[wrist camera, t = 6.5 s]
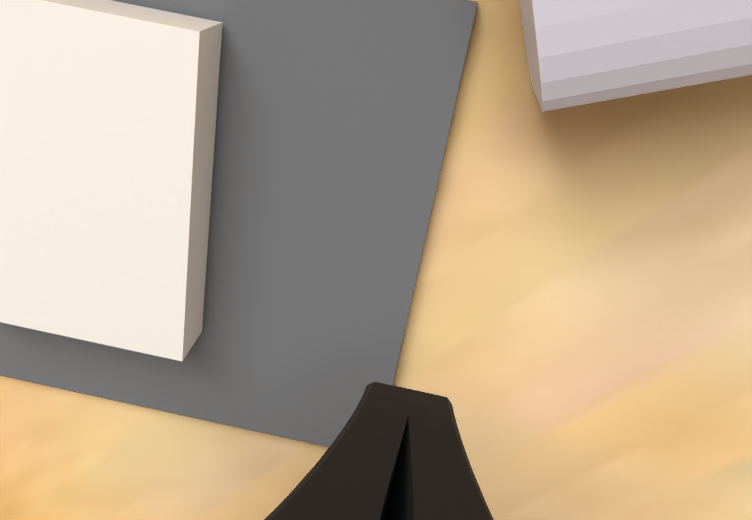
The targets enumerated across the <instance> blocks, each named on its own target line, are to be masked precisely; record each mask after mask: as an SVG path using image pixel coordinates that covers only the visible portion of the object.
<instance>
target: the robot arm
mask: <svg viewBox="0 0 752 520" xmlns="http://www.w3.org/2000/svg"><path fill="white" fill-rule="evenodd" d="M264 520H493V517H492V515H491V513H490V511H489V509H488V506H487V504H486V502H485V500H484V497H483V495H482V492H481V490H480V488H479V485H478V483H477V480H476V478H475V475H474V473H473V471H472V468H471V465H470V463H469V460H468V457H467V454H466V452H465V449H464V446H463V443H462V440H461V437H460V434H459V430H458V427H457V423H456V420H455V416H454V412H453V407H452V404H451V402H450V401H449V399H448V398H447V397H443V396H439V395H434V394H429V393H425V392H420V391H416V390H411V389H406V388H402V387H397V386H392V385H388V384H383V383H379V382H372V383H371V384H369V385H367V386H366V388H365V391H364V393H363V396H362V398H361V400H360V402H359V404H358V405H357V407H356V409H355V411H354V412H353V414H352V416H351V417H350V419H349V420H348V422H347V423H346V425H345V426H344V428H343V429H342V431H341V432H340V433H339V435H338V436H337V437H336V439H335V440H334V442H333V443H332V444H331V446H330V447H329V448H328V450H327V451H326V452H325V454H324V455H323V456H322V457H321V459H320V460H319V461H318V462H317V464H316V465H315V466H314V467H313V468H312V469H311V470H310V472H309V473H308V474H307V475H306V476H305V477H304V478H303V480H302V481H301V482H300V483H299V484H298V485H297V486H296V488H295V489H294V490H293V491H292V492H291V493H290V494H289V495H288V496H287V497H286V498H285V499H284V500H283V502H282V503H281V504H280V505H279V506H278V507H277V508H276V509H275V510H274V511H273V512H272V513H271V514H270V515H269V516H268V517H266V518H265V519H264Z"/></svg>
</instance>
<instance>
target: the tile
mask: <svg viewBox="0 0 752 520" xmlns="http://www.w3.org/2000/svg"><path fill="white" fill-rule="evenodd" d="M222 24H223V22H218V21H213V20H208V19H203V18H198V17H193V16H188V15H183V14H178V13H173V12H168V11H162V10H157V9H152V8H147V7H142V6H137V5H132V4H127V3H122V2H117V1H112V0H0V322H2V323H6V324H11V325H16V326H20V327H25V328H30V329H34V330H39V331H43V332H48V333H53V334H57V335H62V336H67V337H71V338H76V339H81V340H85V341H90V342H94V343H99V344H104V345H108V346H113V347H118V348H122V349H127V350H132V351H136V352H141V353H145V354H150V355H155V356H159V357H164V358H169V359H173V360H178V361H183V360H184V358H185V357H186V355H187V354H188V352H189V351H190V349H191V348H192V346H193V345H194V343H195V341H196V340H197V338H198V337H199V335H200V334H201V332H202V325H203V310H204V295H205V280H206V265H207V250H208V235H209V220H210V205H211V190H212V175H213V160H214V144H215V129H216V114H217V99H218V84H219V69H220V54H221V39H222Z"/></svg>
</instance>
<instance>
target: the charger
mask: <svg viewBox="0 0 752 520" xmlns="http://www.w3.org/2000/svg"><path fill="white" fill-rule="evenodd" d="M519 5H520V13H521V21H522V28H523V36H524V44H525V51H526V58H527V65H528V71H529V77H530V81H531V84H532V87H533V90H534V92H535V95H536V98H537V100H538V103H539V106H540V108H541V111H542V112H545V111H550V110H556V109H562V108H567V107H573V106H579V105H584V104H590V103H596V102H601V101H607V100H613V99H618V98H624V97H630V96H635V95H641V94H647V93H652V92H658V91H664V90H669V89H675V88H681V87H686V86H692V85H698V84H703V83H709V82H715V81H720V80H726V79H732V78H737V77H743V76H749V75H752V0H519Z"/></svg>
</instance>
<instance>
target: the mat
mask: <svg viewBox="0 0 752 520" xmlns="http://www.w3.org/2000/svg"><path fill="white" fill-rule="evenodd" d="M112 1H117V2H122V3H127V4H132V5H137V6H142V7H147V8H152V9H157V10H162V11H168V12H173V13H178V14H183V15H188V16H193V17H198V18H203V19H208V20H213V21H218V22H223V24H222V39H221V54H220V69H219V84H218V99H217V114H216V129H215V144H214V160H213V175H212V190H211V205H210V220H209V235H208V250H207V265H206V280H205V295H204V310H203V325H202V332H201V334H200V335H199V337H198V338H197V340H196V341H195V343H194V345H193V346H192V348H191V349H190V351H189V352H188V354H187V355H186V357H185V358H184V360H183V361H178V360H173V359H169V358H164V357H159V356H155V355H150V354H145V353H141V352H136V351H132V350H127V349H122V348H118V347H113V346H108V345H104V344H99V343H94V342H90V341H85V340H81V339H76V338H71V337H67V336H62V335H57V334H53V333H48V332H43V331H39V330H34V329H30V328H25V327H20V326H16V325H11V324H6V323H2V322H0V376H5V377H10V378H14V379H19V380H23V381H28V382H32V383H37V384H42V385H46V386H51V387H55V388H60V389H65V390H69V391H74V392H78V393H83V394H87V395H92V396H97V397H101V398H106V399H110V400H115V401H119V402H124V403H129V404H133V405H138V406H142V407H147V408H151V409H156V410H161V411H165V412H170V413H174V414H179V415H183V416H188V417H193V418H197V419H202V420H206V421H211V422H216V423H220V424H225V425H229V426H234V427H238V428H243V429H248V430H252V431H257V432H261V433H266V434H270V435H275V436H280V437H284V438H289V439H293V440H298V441H302V442H307V443H312V444H316V445H321V446H325V447H330V446H331V444H332V443H333V442H334V440H335V439H336V437H337V436H338V435H339V433H340V432H341V431H342V429H343V428H344V426H345V425H346V423H347V422H348V420H349V419H350V417H351V416H352V414H353V412H354V411H355V409H356V407H357V405H358V404H359V402H360V400H361V398H362V396H363V393H364V391H365V388H366V386H367V385H369V384H371V383H372V382H379V383H383V384H388V385H392V386H393V381H394V377H395V372H396V368H397V363H398V359H399V354H400V350H401V345H402V341H403V336H404V332H405V327H406V323H407V318H408V314H409V309H410V305H411V300H412V296H413V291H414V287H415V282H416V278H417V273H418V269H419V264H420V260H421V255H422V251H423V246H424V242H425V237H426V233H427V229H428V224H429V220H430V215H431V211H432V206H433V202H434V197H435V193H436V188H437V184H438V179H439V175H440V170H441V166H442V161H443V157H444V152H445V148H446V143H447V139H448V134H449V130H450V125H451V121H452V116H453V112H454V107H455V103H456V98H457V94H458V89H459V85H460V80H461V76H462V71H463V67H464V62H465V58H466V53H467V49H468V44H469V40H470V35H471V31H472V26H473V22H474V17H475V13H476V8H477V2H474V1H469V0H112Z"/></svg>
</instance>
